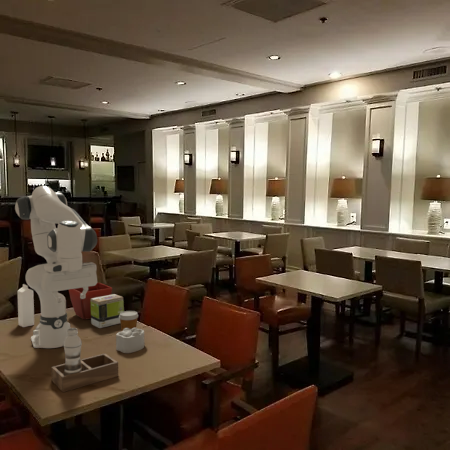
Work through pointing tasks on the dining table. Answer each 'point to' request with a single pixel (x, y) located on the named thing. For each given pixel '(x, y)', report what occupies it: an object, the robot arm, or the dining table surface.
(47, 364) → the dining table surface
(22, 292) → the milk
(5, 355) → the dining table surface
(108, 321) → the tea box
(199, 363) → the dining table surface
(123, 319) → the disposable coffee cup
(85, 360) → the bottle carrier
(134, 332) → the lumpy-topped squat cylinder
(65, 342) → the metal bottle
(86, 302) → the plant pot
